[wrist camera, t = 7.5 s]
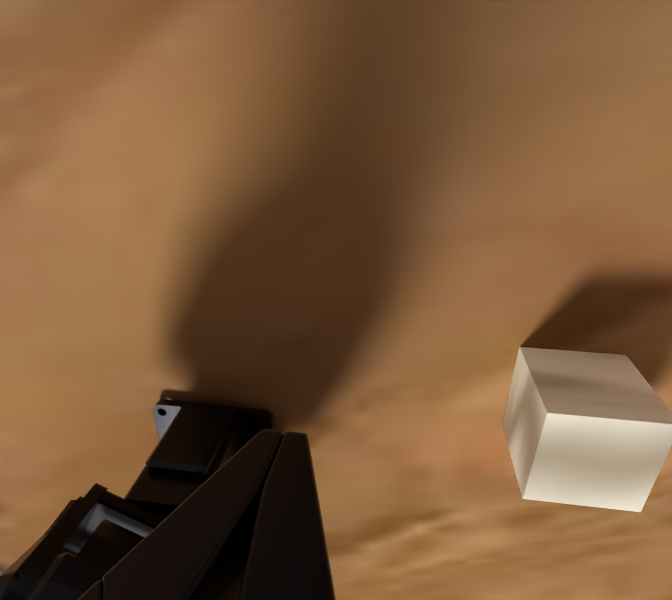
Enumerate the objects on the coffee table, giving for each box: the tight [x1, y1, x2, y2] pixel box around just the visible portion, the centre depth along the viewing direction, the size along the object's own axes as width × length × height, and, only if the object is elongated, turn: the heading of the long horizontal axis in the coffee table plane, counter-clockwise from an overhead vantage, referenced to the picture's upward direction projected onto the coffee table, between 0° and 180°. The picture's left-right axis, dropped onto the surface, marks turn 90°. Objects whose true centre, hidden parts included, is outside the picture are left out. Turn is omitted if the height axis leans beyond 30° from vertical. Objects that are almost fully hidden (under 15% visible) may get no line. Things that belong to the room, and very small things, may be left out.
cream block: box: [502, 347, 672, 512], centre depth 19 cm, size 4×4×4 cm
